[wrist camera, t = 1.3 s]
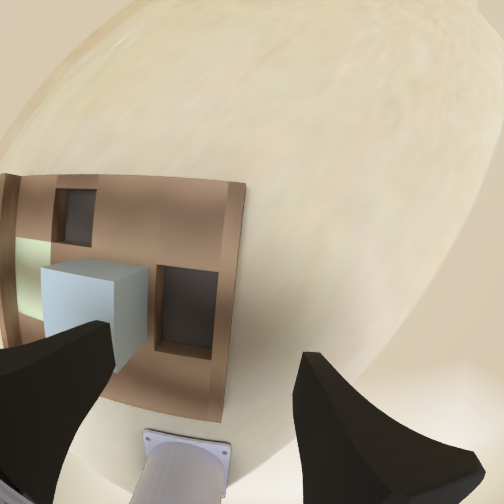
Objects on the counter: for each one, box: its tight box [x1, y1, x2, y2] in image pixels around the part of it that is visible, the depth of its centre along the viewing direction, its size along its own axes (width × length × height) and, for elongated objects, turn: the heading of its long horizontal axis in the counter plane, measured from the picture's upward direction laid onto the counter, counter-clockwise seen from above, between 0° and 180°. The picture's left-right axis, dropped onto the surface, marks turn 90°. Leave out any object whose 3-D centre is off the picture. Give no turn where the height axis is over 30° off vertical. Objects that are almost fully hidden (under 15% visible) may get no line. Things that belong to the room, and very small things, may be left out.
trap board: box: [0, 173, 246, 423], centre depth 17 cm, size 17×19×4 cm
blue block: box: [41, 258, 149, 373], centre depth 15 cm, size 5×5×5 cm
